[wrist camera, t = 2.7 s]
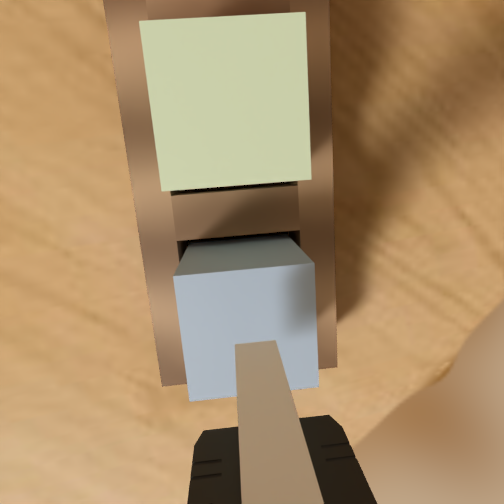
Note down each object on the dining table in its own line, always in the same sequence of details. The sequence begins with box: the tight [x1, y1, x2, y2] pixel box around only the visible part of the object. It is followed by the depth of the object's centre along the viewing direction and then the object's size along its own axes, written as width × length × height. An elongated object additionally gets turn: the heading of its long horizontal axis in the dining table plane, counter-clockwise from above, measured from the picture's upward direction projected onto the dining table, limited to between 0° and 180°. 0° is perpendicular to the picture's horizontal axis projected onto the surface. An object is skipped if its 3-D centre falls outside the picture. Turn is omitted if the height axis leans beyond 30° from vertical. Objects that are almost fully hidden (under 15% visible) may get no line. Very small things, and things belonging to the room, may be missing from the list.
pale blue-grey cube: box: [173, 234, 319, 402], centre depth 19 cm, size 6×6×7 cm
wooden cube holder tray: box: [103, 0, 337, 387], centre depth 20 cm, size 30×11×4 cm, turn 4°
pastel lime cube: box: [139, 12, 312, 192], centre depth 17 cm, size 6×6×7 cm
